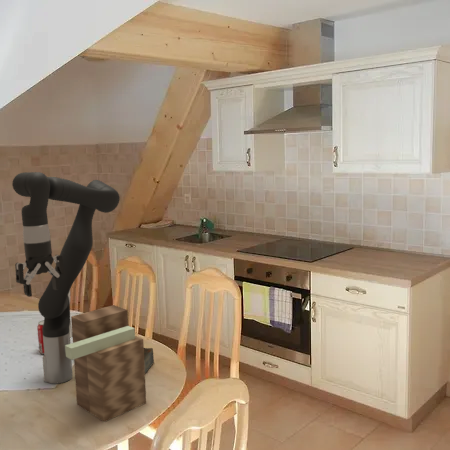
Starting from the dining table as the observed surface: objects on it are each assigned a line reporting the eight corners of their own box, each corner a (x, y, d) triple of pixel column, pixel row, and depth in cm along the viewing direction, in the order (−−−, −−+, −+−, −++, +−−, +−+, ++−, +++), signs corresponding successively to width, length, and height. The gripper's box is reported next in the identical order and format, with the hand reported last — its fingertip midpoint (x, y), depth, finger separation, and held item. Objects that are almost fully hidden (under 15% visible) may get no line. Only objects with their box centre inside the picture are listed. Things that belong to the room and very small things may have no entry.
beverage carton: (115, 383, 187) (114, 366, 186) (135, 361, 206) (134, 345, 205) (137, 385, 185) (136, 367, 184) (154, 363, 204) (154, 346, 203)
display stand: (104, 421, 161) (98, 328, 156) (77, 404, 172) (71, 316, 167) (146, 402, 172) (142, 314, 167) (118, 387, 183) (113, 304, 178)
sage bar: (71, 359, 153) (71, 348, 153) (65, 356, 156) (65, 345, 155) (135, 338, 169) (134, 328, 168) (128, 336, 171) (128, 325, 171)
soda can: (47, 357, 211) (45, 326, 209) (35, 353, 215) (33, 323, 213) (61, 350, 217) (59, 320, 215) (49, 347, 221) (47, 318, 219)
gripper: (19, 245, 148) (25, 300, 150) (65, 237, 158) (70, 289, 160) (7, 242, 153) (14, 296, 155) (52, 234, 163) (58, 285, 165)
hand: (42, 292), depth 158 cm, fingers open, 8 cm apart
